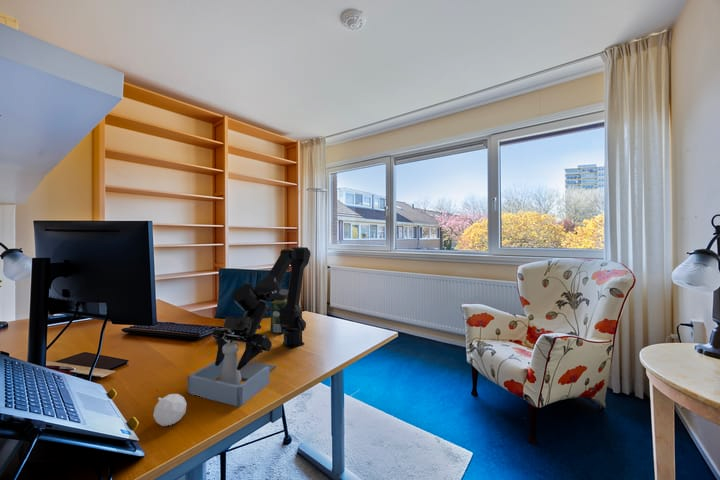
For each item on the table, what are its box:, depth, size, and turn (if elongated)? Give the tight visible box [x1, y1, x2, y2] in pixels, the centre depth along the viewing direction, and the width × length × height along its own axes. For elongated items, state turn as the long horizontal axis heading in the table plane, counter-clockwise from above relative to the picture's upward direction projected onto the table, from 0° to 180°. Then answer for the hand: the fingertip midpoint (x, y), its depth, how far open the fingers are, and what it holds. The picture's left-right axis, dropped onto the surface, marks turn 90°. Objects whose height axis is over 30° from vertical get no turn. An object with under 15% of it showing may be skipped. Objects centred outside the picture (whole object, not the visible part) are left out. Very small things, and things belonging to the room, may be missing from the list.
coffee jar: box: [269, 288, 289, 334], centre depth 133 cm, size 10×8×19 cm
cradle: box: [187, 359, 270, 408], centre depth 85 cm, size 12×18×5 cm
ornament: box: [152, 393, 188, 427], centre depth 70 cm, size 6×7×7 cm
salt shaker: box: [219, 341, 242, 385], centre depth 85 cm, size 6×6×13 cm
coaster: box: [240, 360, 277, 381], centre depth 95 cm, size 10×10×1 cm
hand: (226, 367), depth 84 cm, fingers open, 7 cm apart
